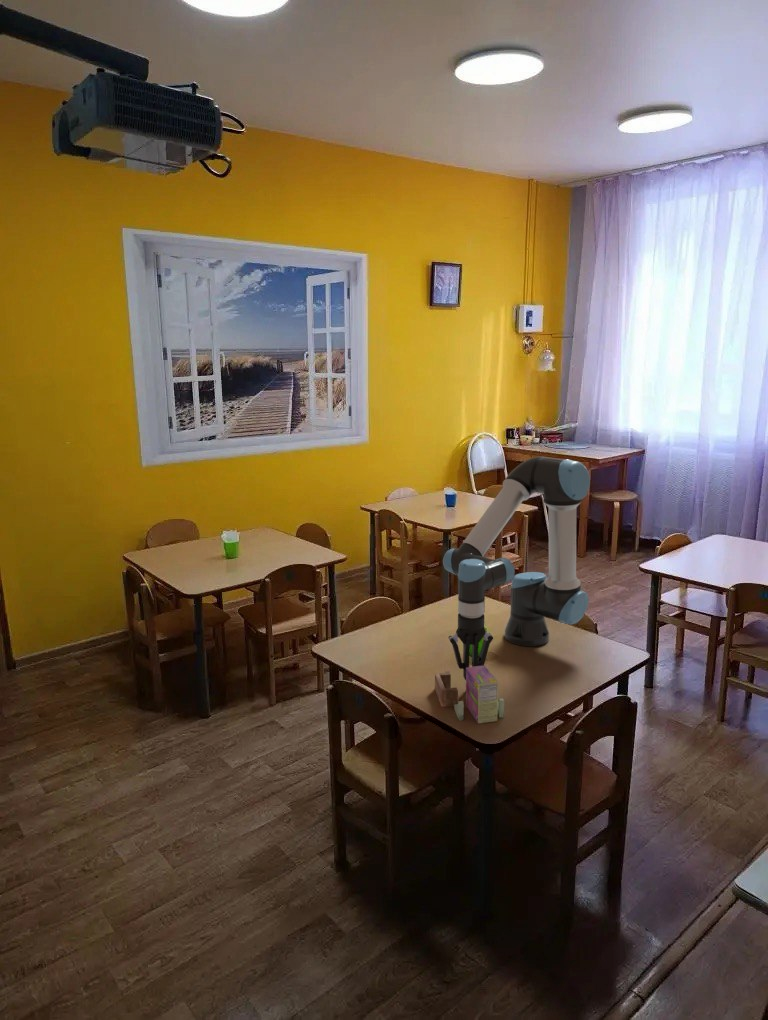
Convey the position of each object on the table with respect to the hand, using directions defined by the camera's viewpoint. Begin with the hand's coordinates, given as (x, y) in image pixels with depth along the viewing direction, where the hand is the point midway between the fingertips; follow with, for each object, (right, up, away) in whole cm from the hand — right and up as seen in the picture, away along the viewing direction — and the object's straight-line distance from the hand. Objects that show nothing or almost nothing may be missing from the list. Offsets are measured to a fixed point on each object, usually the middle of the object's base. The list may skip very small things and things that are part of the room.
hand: (470, 688), depth 202 cm
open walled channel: (-2, -2, -2) cm, 3 cm away
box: (+2, -4, -12) cm, 12 cm away
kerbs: (+1, -4, -12) cm, 12 cm away
